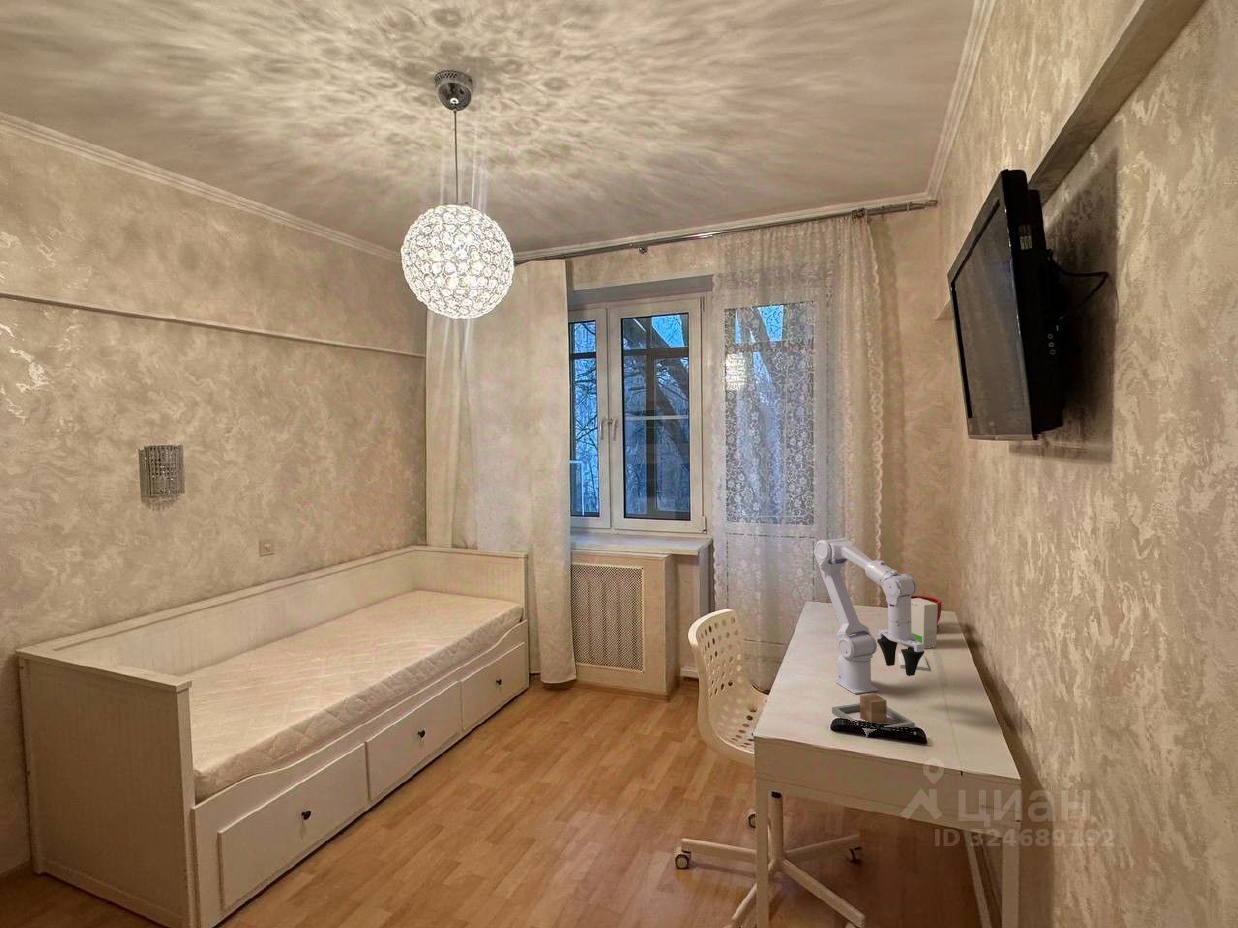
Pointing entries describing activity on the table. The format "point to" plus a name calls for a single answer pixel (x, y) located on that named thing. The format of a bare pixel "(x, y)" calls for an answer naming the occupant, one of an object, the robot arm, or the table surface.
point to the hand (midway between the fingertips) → (900, 670)
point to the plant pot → (933, 602)
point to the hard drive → (921, 665)
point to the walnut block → (873, 708)
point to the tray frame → (844, 709)
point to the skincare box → (924, 621)
